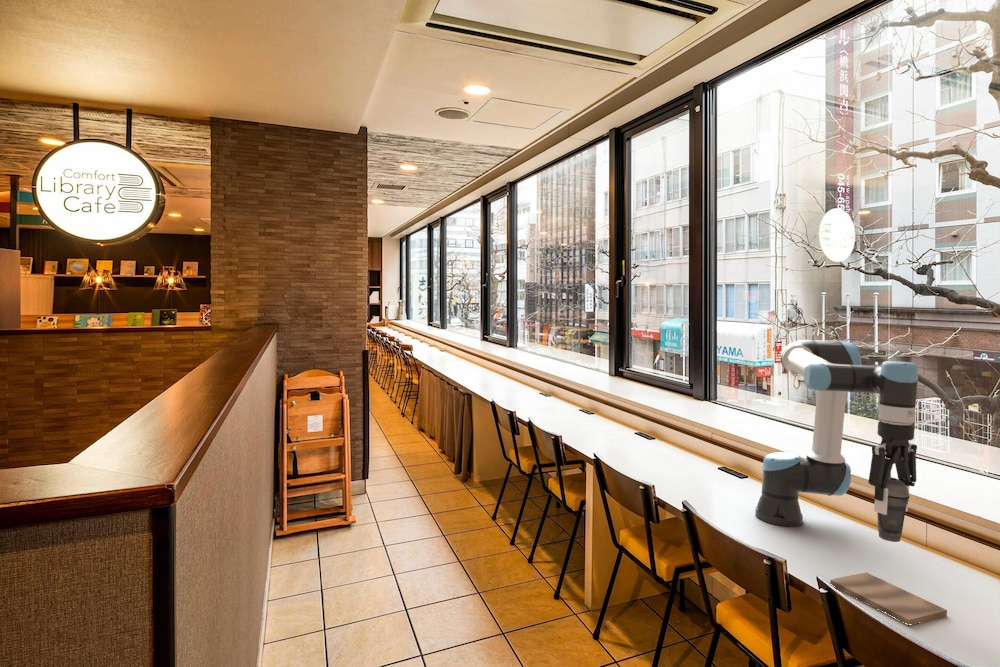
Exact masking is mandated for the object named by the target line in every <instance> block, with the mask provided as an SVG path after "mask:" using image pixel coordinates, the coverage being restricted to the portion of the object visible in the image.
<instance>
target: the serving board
mask: <svg viewBox="0 0 1000 667" xmlns="http://www.w3.org/2000/svg"><path fill="white" fill-rule="evenodd" d="M829 582H830V583H829V585H830V584H832V585H833V586H835V587H836V588H837V590H838V589H839V590H838V591H840V592H842V593H844V592H845V593H844V594H846V595H848V596H850V597H852V596H853V597H852V598H854V597H855V598H854V599H856V598H857V599H858V601H859V600H860V601H859V602H861V601H863V602H865V603H867V604H869V605H870V606H869V605H868V606H869V607H871V608H873V607H874V608H873V609H875V608H876V609H875V610H877V609H879V610H881V611H883V612H886V613H887V614H889V615H891V616H893V617H895V618H896V619H898V620H900V621H902V622H904V623H907V624H908V625H909V624H915V623H919V622H923V623H926V622H930V621H934V620H937V619H940V618H944V617H947V616H948V609H946V608H943V607H942V606H939V605H937V604H935V603H933V602H931V601H928V600H926V599H924V598H922V597H920V596H918V595H916V594H913V593H912V592H910V591H907V590H905V589H903V588H901V587H899V586H897V585H894V584H892V583H891V582H888V581H886V580H884V579H882V578H879V577H878V576H875V575H874V574H871V573H869V572H861V573H857V574H851V575H847V576H843V577H838V578H833V579H830V581H829ZM833 586H832V587H833ZM836 588H835V589H836ZM857 599H856V600H857ZM863 602H862V603H863ZM865 603H864V604H865ZM867 604H866V605H867ZM896 619H895V620H896ZM898 620H897V621H898ZM900 621H899V622H900ZM919 624H920V623H919ZM915 625H916V624H915Z"/></svg>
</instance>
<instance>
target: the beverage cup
mask: <svg viewBox="0 0 1000 667" xmlns="http://www.w3.org/2000/svg"><path fill="white" fill-rule="evenodd" d="M891 472H892V471H891ZM891 472H890V476H889V479H888V482H887V485H886V488H887V489H888V504H887V515H884V514H881V513H878V512H876V513H877V530H878V537H879V538H880V539H882V540H883V541H887V542H892V543H899V542H901V538H902V535H903V528H904V522H905V515H906V512H907V511H906V505H907V503H908V504H909V499H910V490H909V491H908V489H907V487H906V485H905V484H904V483H903V482H902V481H900V480H898V478H895V477H892V473H891ZM905 511H906V512H905Z"/></svg>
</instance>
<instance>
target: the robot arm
mask: <svg viewBox="0 0 1000 667" xmlns="http://www.w3.org/2000/svg"><path fill="white" fill-rule="evenodd" d="M779 360H780V363H781V366H782V367H783V368H784V369H785V370H786V371H788V372H790V373H791V374H792V373H793V374H796V375H800V376H801V377H803V382H804V385H805V387H806V388H807V389H809V390H813V391H816V399H815V400H816V402H815V413H814V421H813V422H814V423H813V436H812V447H811V449H810V450H809V451H807V453H806V458H801V456H800V455H799V454H797V453H795V452H788V451H786V452H785V451H778V452H771V453H768V454H766V455H765V456H764V458H763V462H762V480H761V481H762V482H761V483H762V484H761V495H760V497H759V499H758V501H757V505H756V507H755V510H754V511H755V517H756V518H758V519H759V520H761V521H763V522H765V523H768V524H773V525H776V526H782V527H798V526H802V524H804V521H803V520H804V515H803V514H802V511H801V506H800V502H799V493H806V494H814V495H815V494H816V495H823V496H824V495H825V496H830V497H831V496H844V494H846V493H847V492H848V490H849V489H850V485H851V480H852V474H851V472H852V469H851V466H850V465H849V463H847V462H846V458H845V457H844V456H843V455H842V445H843V444H842V442H843V432H844V423H845V422H844V420H845V410H846V400H847V393H862V394H878V395H879V401H878V412H877V413H878V415H877V419H878V420H879V421H878V422H877V435H878V436H879V437H880V438H881V441H880V444H879V445H872V446H871V451H872V452H871V453H872V455H871V463H870V470H869V475H868V485H871V486H873V487H874V495H873V496H874V505H873V512H875V513H877V512H878V513H881V514H884V515H887V504H888V489H887V488H886V485H887V482H888V479H889V476H890V472H892V469H893V465H894V464H895V469H896V474H897V479H898V480H900V481H902V482H903V483H904V484H905V485H906V487H907V489H908V491H909V492H910V487H915V483H916V482H917V450H918V446H917V444H914V443H910V442H909V441H912V440H914V438H915V426H914V425H913V424H914V423H915V420H916V415H917V414H916V407H917V406H916V405H917V392H918V380H919V372H918V371H919V370H918V365H917V364H916V363H914V362H911V361H909V362H908V361H901V360H900V361H899V360H897V361H896V360H885V361H883V362H882V363H881V364H871V365H868V364H865V365H864V364H862V357H861V353H860V350H859V348H858V346H857V345H856V344H855V343H853V342H851V341H843V340H823V339H822V340H815V339H813V340H811V339H801V340H796V341H794V342H791V343H789V344H788V345H786V346H785V347H784V348H783V349H782V351H781V353H780V357H779ZM908 510H909V502H908V503H907V505H906V511H905V513H906V512H909V511H908Z"/></svg>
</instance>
